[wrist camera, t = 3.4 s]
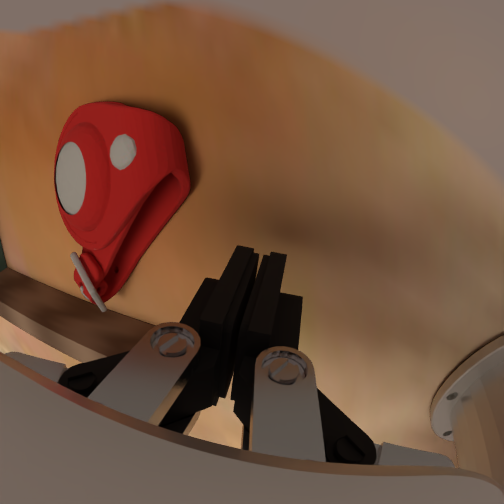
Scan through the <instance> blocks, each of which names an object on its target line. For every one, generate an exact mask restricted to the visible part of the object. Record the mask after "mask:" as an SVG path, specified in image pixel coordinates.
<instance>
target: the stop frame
mask: <svg viewBox="0 0 504 504" xmlns="http://www.w3.org/2000/svg"><path fill="white" fill-rule="evenodd" d="M0 316H1V317H3V318H4V319H6V320H7V321H9V322H11V323H12V324H14V325H15V326H17V327H19V328H20V329H22V330H23V331H25V332H27V333H28V334H30V335H32V336H34V337H35V338H37V339H39V340H40V341H42V342H44V343H46V344H48V345H49V346H51V347H53V348H55V349H57V350H59V351H61V352H62V353H64V354H66V355H68V356H70V357H72V358H74V359H76V360H78V361H80V362H82V363H85V362H89V361H93V360H97V359H100V358H104V357H108V356H112V355H115V354H119V353H123V352H126V351H130V350H131V349H132V348H133V347H134V346H135V345H136V344H137V343H138V342H139V341H140V340H141V339H142V338H143V336H144V335H145V334H146V333H147V332H148V331H149V330H151V329H152V328H153V327H154V325H151V324H148V323H145V322H142V321H139V320H136V319H133V318H130V317H127V316H125V315H122V314H119V313H116V312H113V311H110V310H108V309H107V310H106V311H105V312H102V311H101V310H100V308H99V307H98V306H97V305H94V304H92V303H89V302H86V301H84V300H81V299H79V298H76V297H74V296H71V295H69V294H66V293H64V292H61V291H59V290H56V289H54V288H52V287H49V286H47V285H45V284H42V283H40V282H38V281H35V280H33V279H31V278H29V277H27V276H24V275H22V274H20V273H18V272H16V271H14V270H11V269H9V268H7V265H6V261H5V257H4V253H3V249H2V245H1V240H0Z"/></svg>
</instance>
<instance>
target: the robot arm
mask: <svg viewBox="0 0 504 504" xmlns="http://www.w3.org/2000/svg"><path fill="white" fill-rule="evenodd" d="M286 257H287V255H285V254H280V253H275V252H271V253H270V256H268V255H264V256H263V259H262V262H261V265H260V268H259V271H258V274H257V277H256V273H257V266H258V259H259V254H257V253H254V248H249V247H243V246H238V245H237V247H236V249H235V251H234V253H233V254H232V256H231V258H230V260H229V262H228V264H227V266H226V268H225V270H224V272H223V274H222V276H221V278H220V280H216V279H212V278H205V280H204V281H203V283H202V285H201V286H200V288H199V290H198V291H197V293H196V295H195V296H194V298H193V300H192V302H191V303H190V305H189V307H188V309H187V310H186V312H185V314H184V315H183V317H182V319H181V321H180V322H179V323H177V322H168V323H162V324H159V325H157V326H154V327H153V328H152V329H151V330H149V331H148V332H147V333H146V334H145V335H144V336H143V338H142V339H141V340H140V341H139V342H138V343H137V344H136V345H135V346H134V347H133V348H132V349H131V350H130V351H126V352H123V353H119V354H115V355H112V356H108V357H104V358H100V359H97V360H93V361H89V362H85V363H81V364H77V365H75V366H72V367H70V368H67V367H66V365H65V364H62V363H58V362H54V361H50V360H45V359H41V358H38V357H34V356H30V355H26V354H23V353H19V352H9V353H6V354H3V353H1V352H0V504H504V335H503V336H501V337H499V338H497V339H496V340H494V341H492V342H491V343H489V344H487V345H486V346H484V347H483V348H481V349H480V350H479V351H477V352H476V353H474V354H473V355H472V356H471V357H469V358H468V359H467V360H466V361H465V362H464V363H462V364H461V365H460V366H459V367H458V368H457V369H456V370H455V371H454V372H453V373H452V374H451V375H450V376H449V377H448V378H447V380H446V381H445V382H444V384H443V385H442V386H441V387H440V389H439V390H438V392H437V394H436V396H435V397H434V399H433V402H432V405H431V408H430V420H431V425H432V429H433V431H434V432H435V434H436V435H437V436H439V437H440V438H443V439H445V440H448V441H454V443H455V449H456V454H457V460H458V467H459V468H455V466H454V464H453V463H452V461H451V460H450V459H449V458H448V457H447V456H444V455H441V454H437V453H432V452H427V451H421V450H416V449H412V448H407V447H402V446H398V445H394V444H390V443H385V442H383V443H382V444H381V445H379V444H375V443H373V441H372V440H371V439H370V437H369V436H368V435H367V434H366V433H365V432H363V431H362V430H361V429H360V428H359V427H358V426H357V425H356V424H355V423H354V422H353V421H351V420H350V419H349V418H348V417H347V416H346V415H345V414H344V413H343V412H342V411H341V410H340V409H339V408H338V407H336V406H335V405H334V404H333V403H332V402H331V401H330V400H329V399H328V398H327V397H326V396H325V395H324V394H323V393H322V392H321V391H320V390H319V389H318V388H317V386H316V379H315V372H314V367H313V364H312V362H311V361H310V359H309V358H308V357H307V356H306V355H305V354H303V353H302V352H301V351H298V344H299V334H300V323H301V312H302V300H303V297H301V296H296V295H291V294H286V293H280V289H281V284H282V278H283V273H284V268H285V262H286ZM255 279H256V280H255ZM233 373H234V375H233ZM232 376H233V383H232V391H231V400H234V401H235V404H234V411H233V412H234V413H235V414H236V416H237V417H238V418H239V419H240V421H241V422H242V423H243V427H242V439H241V449H238V448H234V447H229V446H225V445H221V444H217V443H213V442H209V441H205V440H201V439H198V438H194V437H191V436H188V435H189V433H190V431H191V430H192V428H193V426H194V425H195V423H196V421H197V420H198V418H199V415H200V411H201V410H203V409H206V408H208V407H211V406H212V405H214V406H216V405H217V402H218V399H219V397H222V398H225V397H226V395H227V392H228V389H229V385H230V382H231V379H232Z"/></svg>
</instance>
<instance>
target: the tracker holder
mask: <svg viewBox="0 0 504 504" xmlns="http://www.w3.org/2000/svg"><path fill="white" fill-rule="evenodd" d="M54 184H55V192H56V199H57V203H58V207H59V211H60V214H61V217H62V219H63V222H64V224H65V226H66V228H67V230H68V231H69V233H70V234H71V236H72V237H73V238H74V239H75V241H76V242H77V243H79V244H80V245H81V246H82V247H83V250H82V254H81V255H80V258H79V257H78V255H77V253H76V252H73V253H71V255H70V257H71V259H72V261H73V263H74V265H75V267H76V269H75V271H74V280H75V282H76V283H77V284H78V286H79V287H80V290H81V293H82V294H83V295H84V297H85V298H87V299H88V300H90V301H91V302H92V303H93V304H96V305H98V307H99V308H100V310H101V311H102V312H105V311H106V310H107V308H106V306H105V304H104V302H106V301H108V300H109V299H110V298H112V297H113V296H114V295H115V294H116V293H117V292H118V291H119V290H120V289H121V288H122V286H123V285H124V283H125V282H126V280H127V279H128V277H129V275H130V274H131V272H132V271H133V269H134V268H135V266H136V264H137V263H138V261H139V259H140V258H141V256H142V255H143V254H144V252H145V251H146V250H147V248H148V247H149V246H150V244H151V243H152V242H153V240H154V239H155V238H156V236H157V235H158V234H159V232H160V231H161V230H162V228H163V227H164V226H165V225H166V223H167V222H168V221H169V219H170V218H171V217H172V216H173V214H174V213H175V212H176V211H177V209H178V208H179V207H180V206H181V204H182V203H183V202H184V200H185V199H186V197H187V196H188V194H189V191H190V187H191V184H190V177H189V171H188V165H187V159H186V153H185V146H184V141H183V138H182V136H181V134H180V132H179V130H178V128H177V127H176V126H175V125H174V124H172V123H171V122H170V121H168V120H167V119H166V118H164V117H162V116H161V115H159V114H157V113H154V112H152V111H149V110H145V109H141V108H136V107H130V106H127V105H124V104H122V103H118V102H95V103H88V104H85V105H82V106H79V107H78V108H77V109H76V110H74V112H73V113H72V114H71V115H70V117H69V118H68V120H67V122H66V123H65V125H64V127H63V130H62V132H61V135H60V138H59V141H58V145H57V150H56V156H55V166H54Z"/></svg>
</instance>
